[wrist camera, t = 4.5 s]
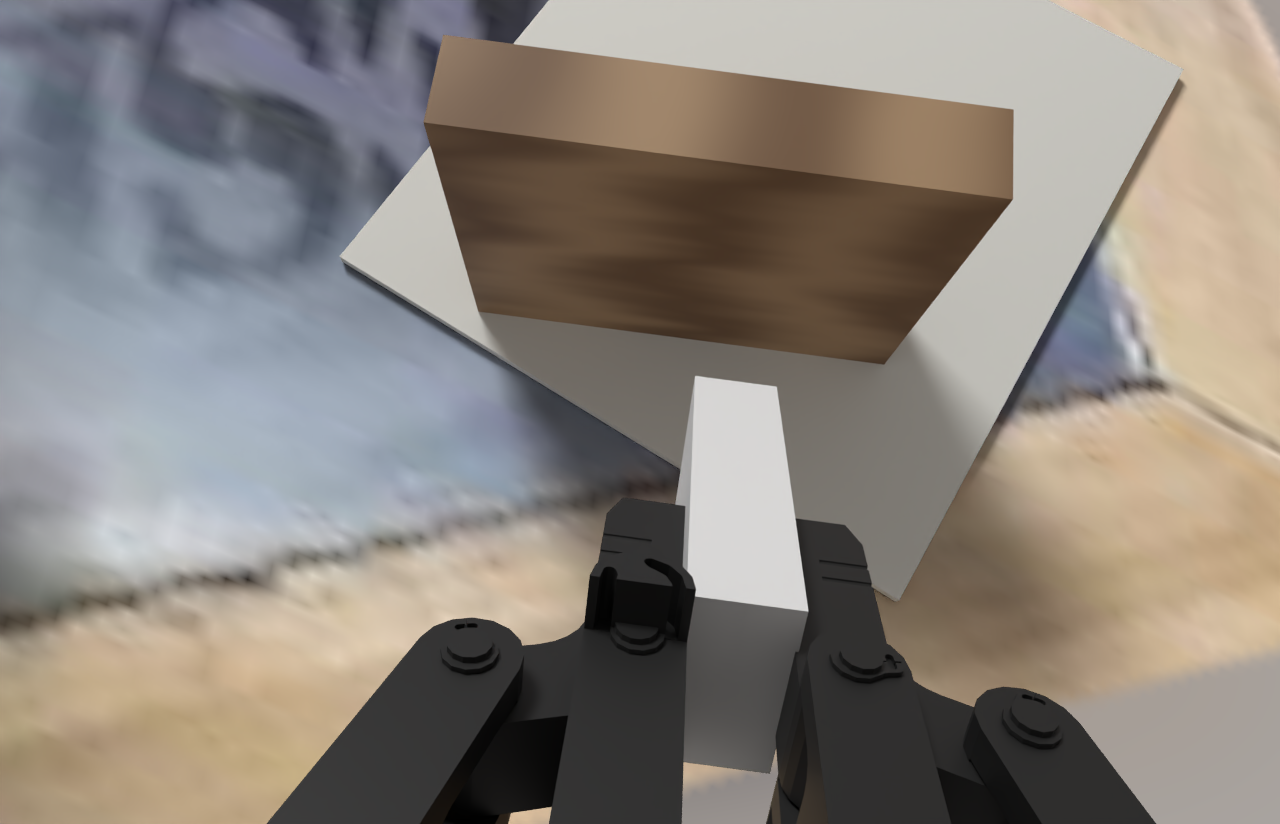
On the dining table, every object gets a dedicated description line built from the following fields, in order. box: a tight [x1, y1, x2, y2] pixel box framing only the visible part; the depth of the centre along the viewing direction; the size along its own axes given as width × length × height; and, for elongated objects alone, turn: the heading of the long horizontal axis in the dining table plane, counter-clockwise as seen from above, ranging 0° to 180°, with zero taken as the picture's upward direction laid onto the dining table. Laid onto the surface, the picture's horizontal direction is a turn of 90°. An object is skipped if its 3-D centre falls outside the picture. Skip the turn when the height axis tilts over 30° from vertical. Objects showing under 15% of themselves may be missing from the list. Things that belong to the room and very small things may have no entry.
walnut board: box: [424, 35, 1014, 365], centre depth 29 cm, size 14×2×11 cm, turn 83°
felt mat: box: [340, 0, 1183, 602], centre depth 36 cm, size 22×24×1 cm
